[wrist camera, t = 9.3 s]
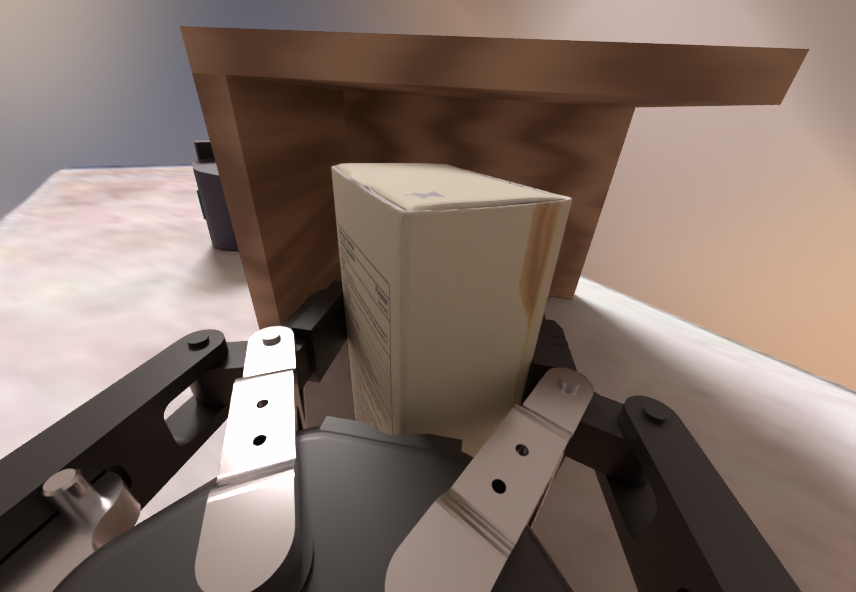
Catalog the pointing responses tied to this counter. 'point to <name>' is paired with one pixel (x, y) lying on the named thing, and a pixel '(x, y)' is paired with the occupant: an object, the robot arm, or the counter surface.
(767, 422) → the counter surface
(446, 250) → the skincare box
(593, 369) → the counter surface
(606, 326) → the counter surface
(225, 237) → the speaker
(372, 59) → the walnut shelf
